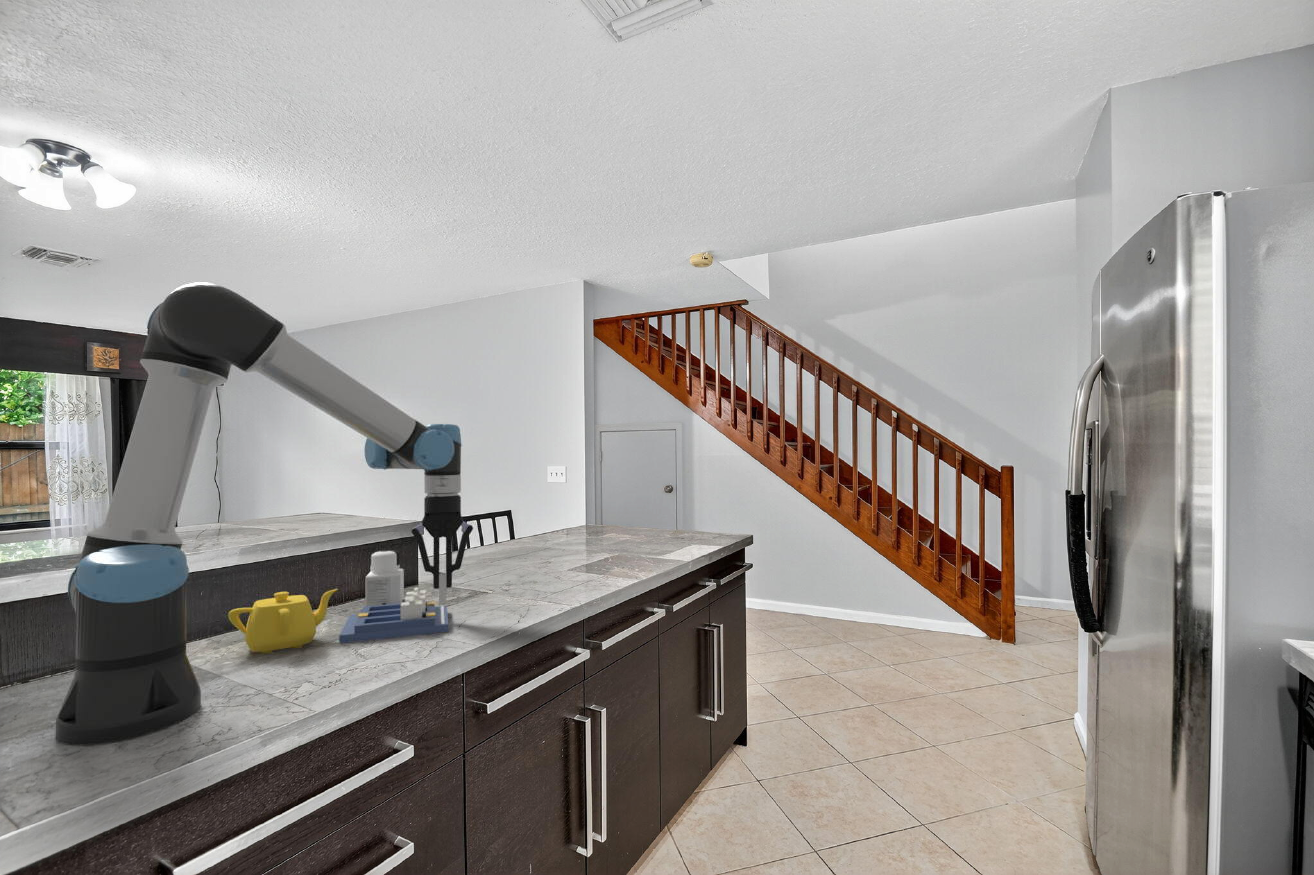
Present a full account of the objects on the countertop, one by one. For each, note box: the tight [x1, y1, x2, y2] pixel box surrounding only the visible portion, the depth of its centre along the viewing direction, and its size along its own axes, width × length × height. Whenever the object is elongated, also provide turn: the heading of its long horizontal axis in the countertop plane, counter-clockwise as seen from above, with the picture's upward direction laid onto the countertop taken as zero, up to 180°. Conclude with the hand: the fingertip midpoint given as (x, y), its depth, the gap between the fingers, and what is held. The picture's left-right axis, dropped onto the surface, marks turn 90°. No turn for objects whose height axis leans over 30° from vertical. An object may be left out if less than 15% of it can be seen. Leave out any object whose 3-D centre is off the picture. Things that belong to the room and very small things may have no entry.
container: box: [364, 549, 405, 607], centre depth 146 cm, size 8×8×13 cm
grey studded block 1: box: [405, 587, 427, 606], centre depth 133 cm, size 4×3×5 cm
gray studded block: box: [404, 592, 425, 612], centre depth 128 cm, size 4×3×5 cm
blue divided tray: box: [338, 600, 449, 644], centre depth 127 cm, size 20×16×3 cm
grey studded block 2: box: [401, 598, 422, 620], centre depth 123 cm, size 4×3×5 cm
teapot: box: [227, 588, 339, 655], centre depth 115 cm, size 14×13×10 cm
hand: (442, 603), depth 130 cm, fingers closed
